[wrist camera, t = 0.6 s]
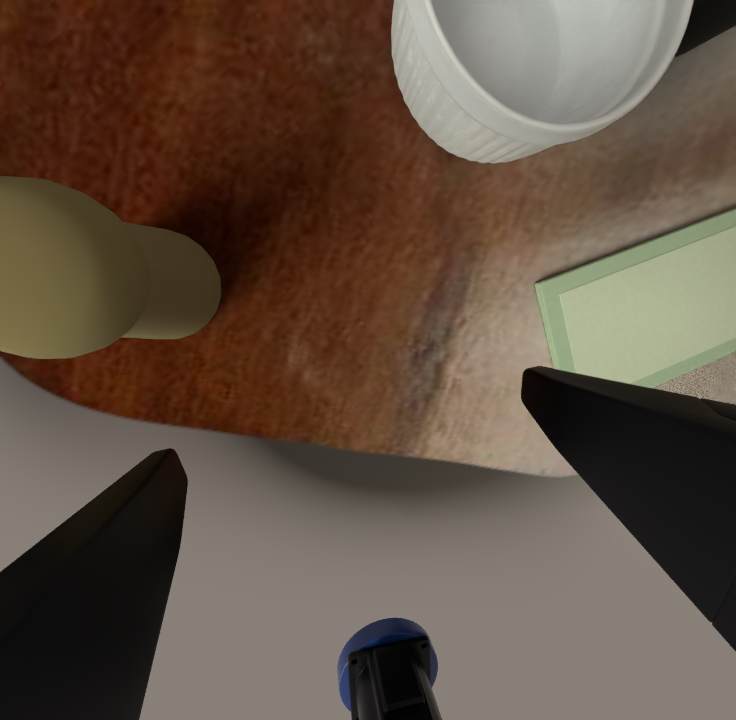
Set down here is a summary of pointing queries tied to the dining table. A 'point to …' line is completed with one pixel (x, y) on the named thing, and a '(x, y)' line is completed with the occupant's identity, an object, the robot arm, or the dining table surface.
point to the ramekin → (528, 68)
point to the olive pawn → (92, 275)
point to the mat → (647, 307)
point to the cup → (707, 22)
